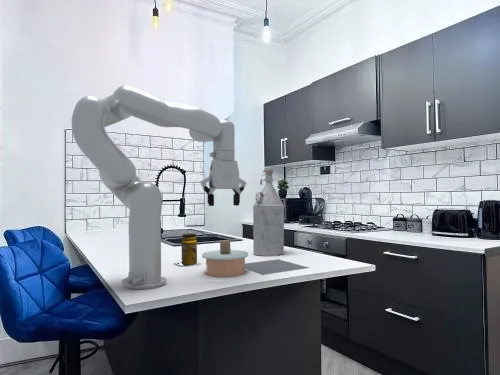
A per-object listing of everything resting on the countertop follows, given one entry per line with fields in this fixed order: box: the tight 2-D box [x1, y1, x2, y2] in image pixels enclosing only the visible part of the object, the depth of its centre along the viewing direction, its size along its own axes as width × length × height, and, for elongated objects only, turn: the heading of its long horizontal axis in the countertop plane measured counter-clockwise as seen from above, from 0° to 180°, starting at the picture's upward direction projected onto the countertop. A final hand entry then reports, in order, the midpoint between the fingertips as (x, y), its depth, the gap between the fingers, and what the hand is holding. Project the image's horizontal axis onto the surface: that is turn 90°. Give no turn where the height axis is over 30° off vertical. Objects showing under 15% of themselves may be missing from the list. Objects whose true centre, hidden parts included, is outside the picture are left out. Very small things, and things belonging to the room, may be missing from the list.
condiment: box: [173, 232, 201, 267], centre depth 140 cm, size 7×8×12 cm
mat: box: [245, 258, 310, 276], centre depth 131 cm, size 20×20×1 cm
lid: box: [201, 239, 249, 260], centre depth 123 cm, size 16×16×5 cm
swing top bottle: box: [252, 166, 285, 257], centre depth 160 cm, size 13×17×40 cm
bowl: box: [205, 257, 246, 277], centre depth 123 cm, size 13×13×6 cm
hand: (224, 205), depth 123 cm, fingers open, 9 cm apart
